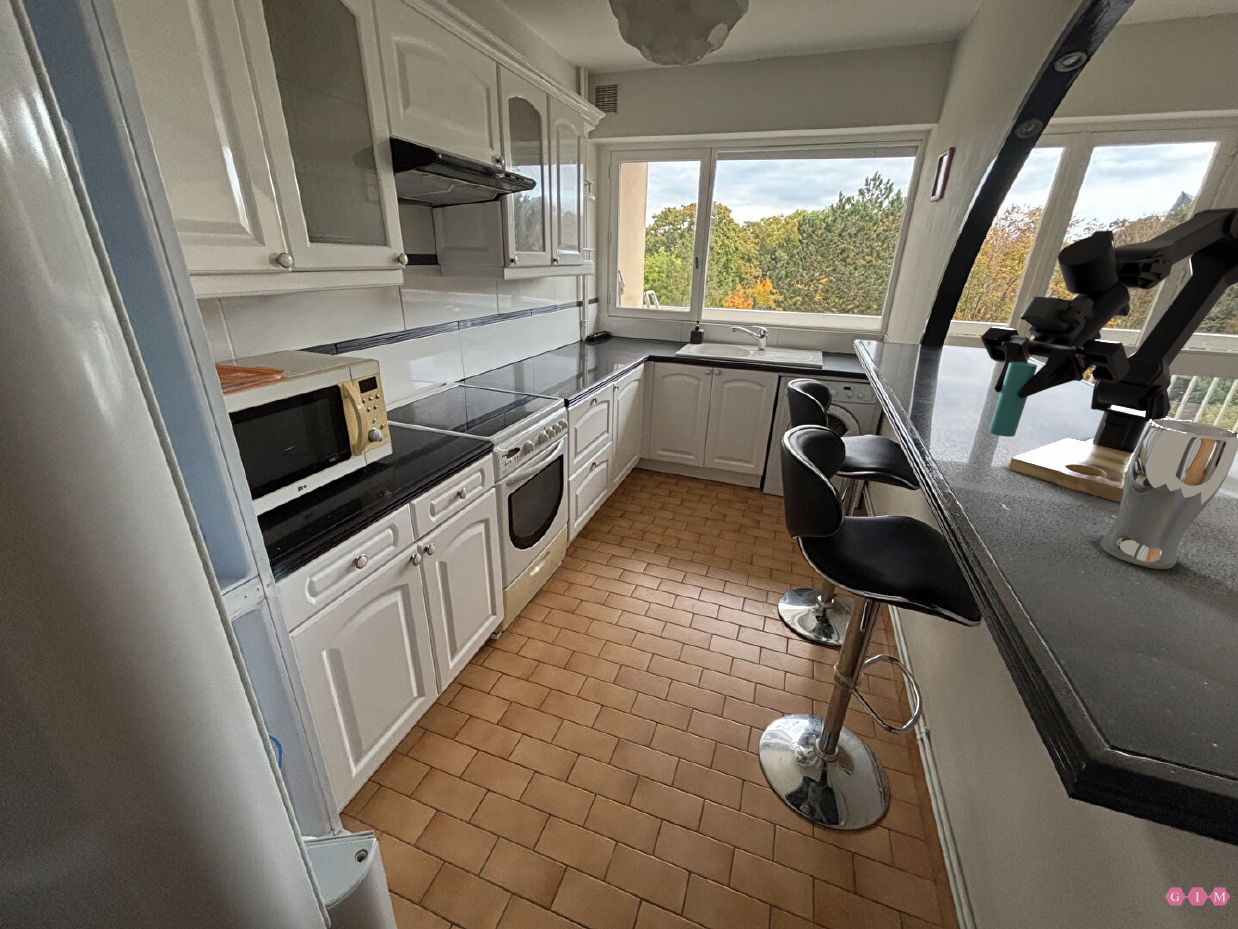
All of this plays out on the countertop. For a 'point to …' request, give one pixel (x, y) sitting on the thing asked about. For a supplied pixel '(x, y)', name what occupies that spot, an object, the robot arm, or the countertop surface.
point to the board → (1077, 467)
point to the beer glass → (1168, 489)
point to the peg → (1011, 399)
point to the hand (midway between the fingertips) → (1007, 393)
